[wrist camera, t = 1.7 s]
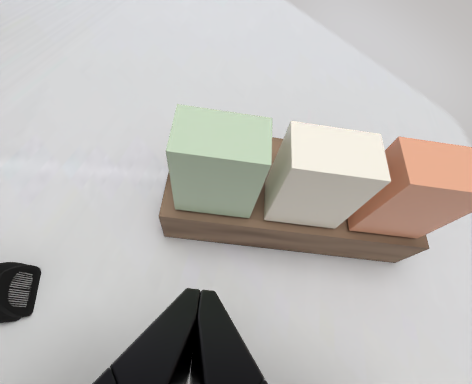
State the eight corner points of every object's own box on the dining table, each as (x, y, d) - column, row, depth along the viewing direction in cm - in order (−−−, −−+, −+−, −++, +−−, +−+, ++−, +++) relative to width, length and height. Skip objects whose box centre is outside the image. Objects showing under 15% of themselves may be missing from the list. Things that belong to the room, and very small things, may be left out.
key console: (395, 262, 24) (429, 248, 20) (164, 236, 22) (158, 216, 19) (379, 180, 28) (405, 156, 24) (181, 153, 26) (179, 124, 23)
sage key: (249, 218, 19) (271, 165, 14) (174, 209, 19) (165, 151, 13) (251, 180, 21) (272, 117, 15) (182, 171, 20) (177, 104, 15)
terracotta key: (417, 238, 20) (504, 196, 14) (349, 230, 20) (410, 184, 14) (408, 200, 22) (484, 149, 16) (344, 192, 21) (398, 136, 16)
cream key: (335, 228, 20) (391, 181, 14) (263, 220, 19) (291, 168, 14) (331, 190, 21) (381, 134, 16) (265, 182, 21) (290, 120, 15)
